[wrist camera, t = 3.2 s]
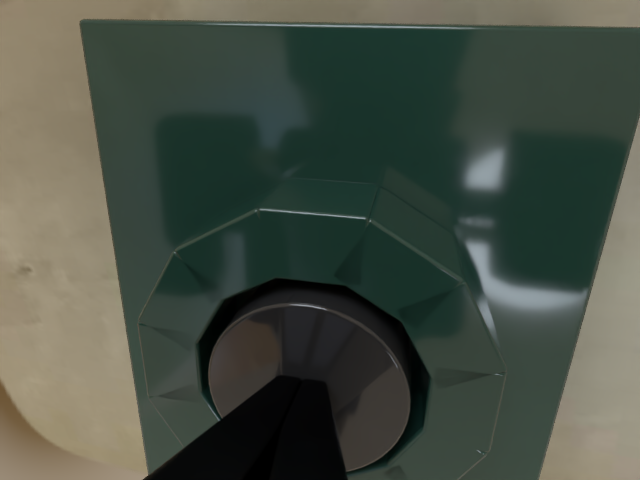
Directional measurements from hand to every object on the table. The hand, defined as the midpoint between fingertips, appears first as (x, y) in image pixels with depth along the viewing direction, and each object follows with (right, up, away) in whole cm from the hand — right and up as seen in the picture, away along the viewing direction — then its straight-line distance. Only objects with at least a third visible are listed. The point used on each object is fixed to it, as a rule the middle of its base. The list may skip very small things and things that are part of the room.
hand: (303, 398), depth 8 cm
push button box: (+1, +2, +6) cm, 6 cm away
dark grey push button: (0, +1, +2) cm, 2 cm away
